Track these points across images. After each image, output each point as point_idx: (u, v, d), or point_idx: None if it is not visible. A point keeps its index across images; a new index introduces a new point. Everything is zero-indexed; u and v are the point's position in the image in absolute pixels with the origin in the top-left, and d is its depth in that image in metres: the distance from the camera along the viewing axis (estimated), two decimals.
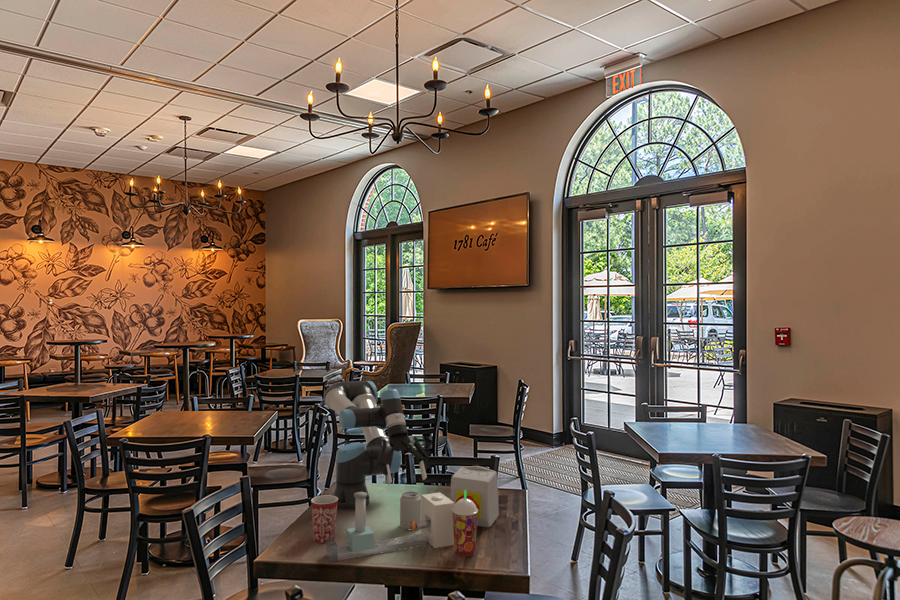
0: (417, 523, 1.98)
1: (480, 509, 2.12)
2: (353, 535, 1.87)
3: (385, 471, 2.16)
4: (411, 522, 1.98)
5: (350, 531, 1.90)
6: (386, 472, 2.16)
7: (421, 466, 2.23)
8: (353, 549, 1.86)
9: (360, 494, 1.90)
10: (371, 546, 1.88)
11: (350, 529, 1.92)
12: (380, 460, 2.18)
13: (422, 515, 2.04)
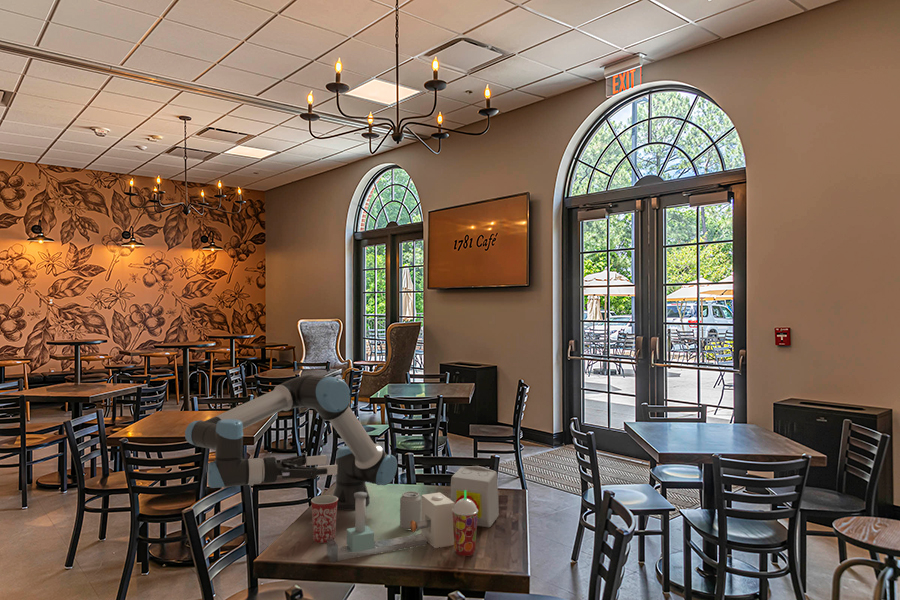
0: (417, 523, 1.98)
1: (480, 509, 2.12)
2: (353, 535, 1.87)
3: None
4: (411, 522, 1.98)
5: (350, 531, 1.90)
6: None
7: None
8: (353, 549, 1.86)
9: (360, 494, 1.90)
10: (371, 546, 1.88)
11: (350, 529, 1.92)
12: None
13: (422, 515, 2.04)
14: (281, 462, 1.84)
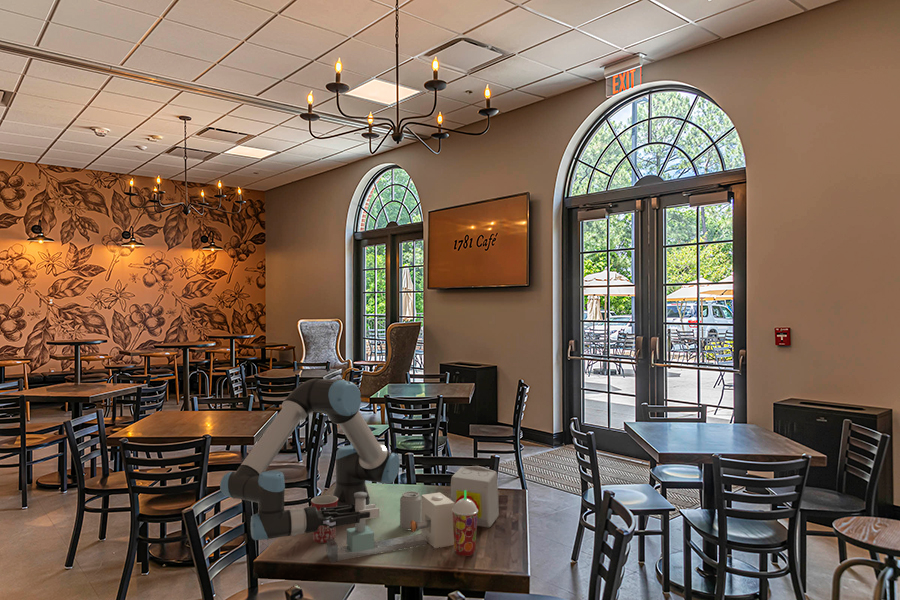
0: (417, 523, 1.98)
1: (480, 509, 2.12)
2: (353, 535, 1.87)
3: None
4: (411, 522, 1.98)
5: (350, 531, 1.90)
6: None
7: None
8: (353, 549, 1.86)
9: (360, 494, 1.90)
10: (371, 546, 1.88)
11: (350, 529, 1.92)
12: None
13: (422, 515, 2.04)
14: (321, 511, 1.87)
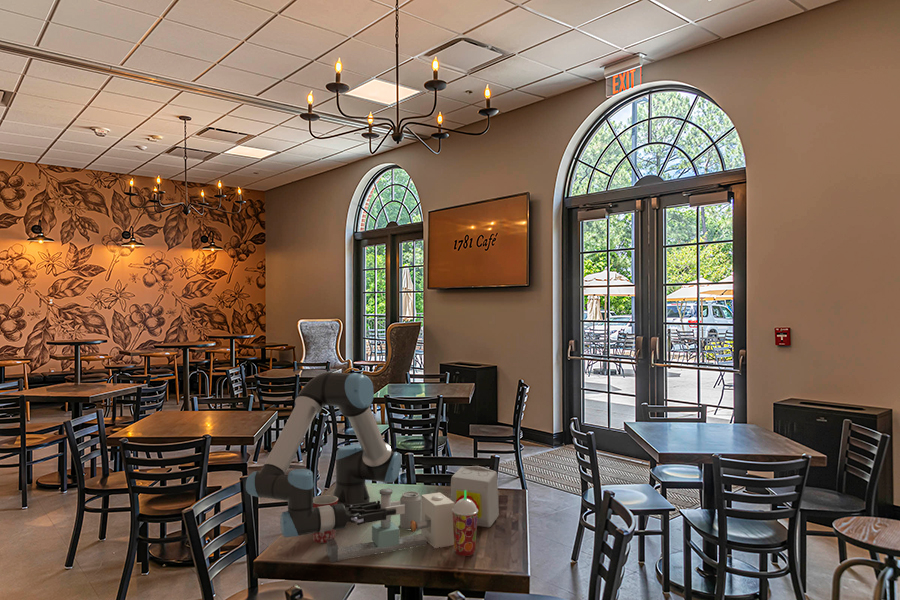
0: (417, 523, 1.98)
1: (480, 509, 2.12)
2: (379, 531, 1.90)
3: None
4: (411, 522, 1.98)
5: (376, 527, 1.93)
6: None
7: None
8: (379, 545, 1.90)
9: (385, 491, 1.94)
10: (396, 542, 1.92)
11: (375, 525, 1.95)
12: None
13: (422, 515, 2.04)
14: (349, 508, 1.90)
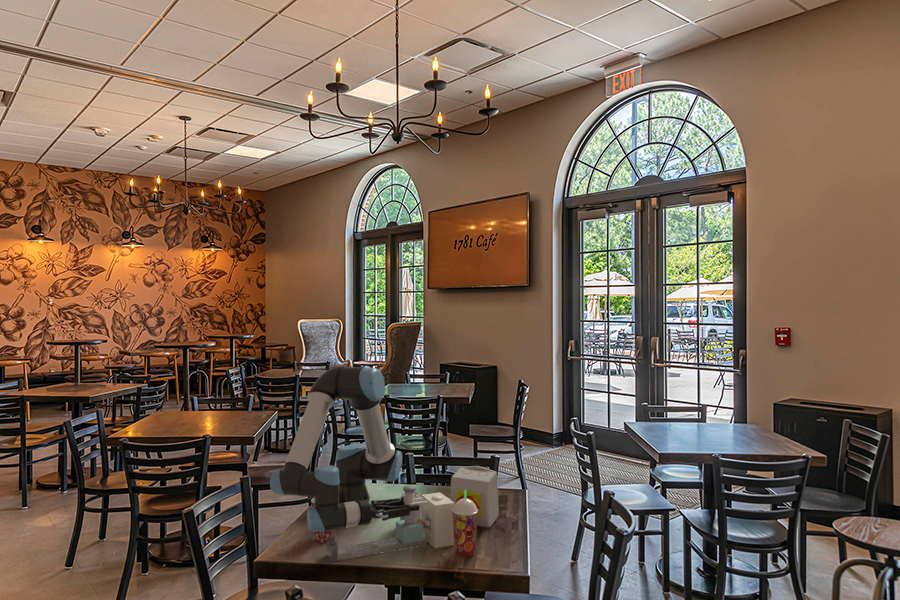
0: (424, 522, 1.99)
1: (480, 509, 2.12)
2: (403, 527, 1.94)
3: None
4: None
5: (400, 523, 1.97)
6: None
7: None
8: (404, 541, 1.93)
9: (409, 488, 1.97)
10: (420, 538, 1.95)
11: (399, 521, 1.99)
12: None
13: (422, 515, 2.04)
14: (373, 504, 1.94)
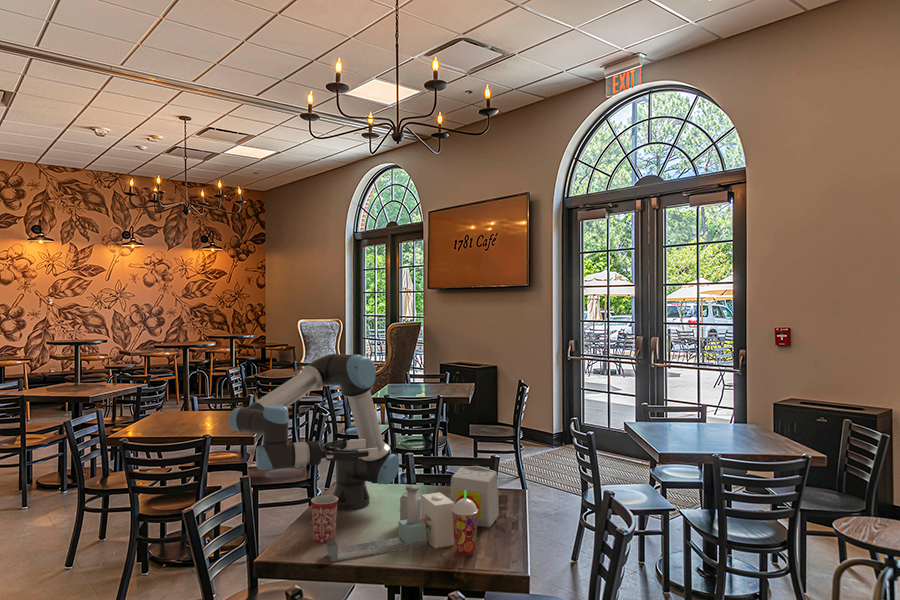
0: (427, 521, 2.00)
1: (480, 509, 2.12)
2: (406, 527, 1.94)
3: None
4: (421, 520, 2.00)
5: (402, 523, 1.97)
6: None
7: None
8: (406, 540, 1.93)
9: (412, 487, 1.98)
10: (423, 538, 1.96)
11: (402, 521, 1.99)
12: None
13: (422, 515, 2.04)
14: (324, 446, 1.93)
